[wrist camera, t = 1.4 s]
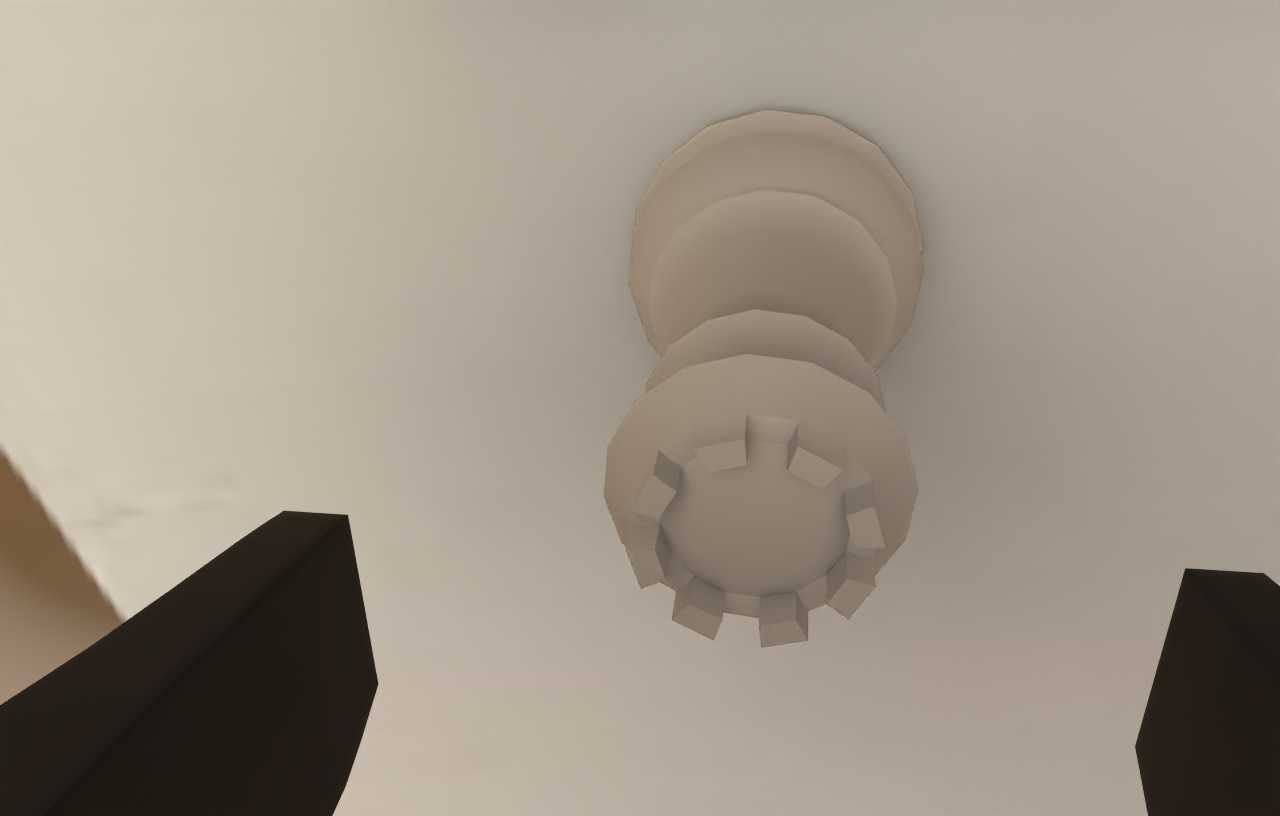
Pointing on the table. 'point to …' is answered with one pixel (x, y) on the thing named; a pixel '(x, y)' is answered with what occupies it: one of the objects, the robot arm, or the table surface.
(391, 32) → the table surface
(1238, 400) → the table surface
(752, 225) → the rook chess piece
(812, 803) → the table surface
